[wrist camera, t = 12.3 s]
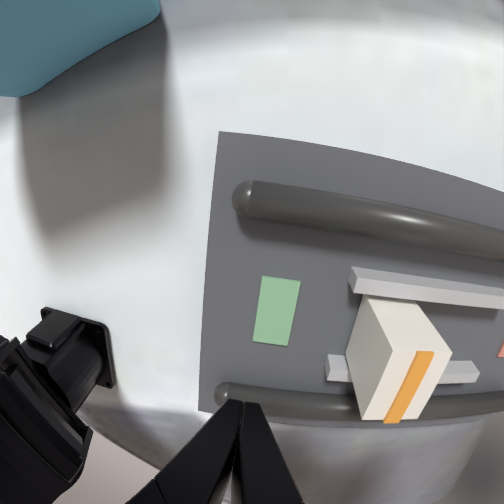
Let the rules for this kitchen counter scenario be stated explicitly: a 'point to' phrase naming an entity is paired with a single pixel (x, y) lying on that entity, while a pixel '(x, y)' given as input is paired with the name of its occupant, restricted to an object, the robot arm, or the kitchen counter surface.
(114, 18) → the data package
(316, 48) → the kitchen counter surface
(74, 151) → the kitchen counter surface
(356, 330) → the knob
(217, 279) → the panel
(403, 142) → the kitchen counter surface
